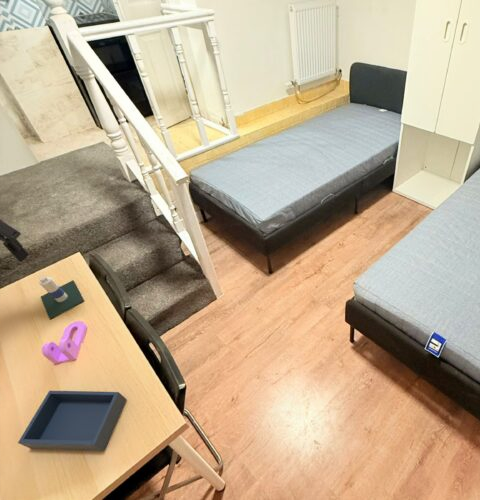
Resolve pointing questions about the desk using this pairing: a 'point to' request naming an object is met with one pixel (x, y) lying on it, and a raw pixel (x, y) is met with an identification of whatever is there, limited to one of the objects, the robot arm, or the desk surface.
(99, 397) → the dark blue tray
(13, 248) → the robot arm
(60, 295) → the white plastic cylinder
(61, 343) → the bracket
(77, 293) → the desk mat
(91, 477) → the desk surface
